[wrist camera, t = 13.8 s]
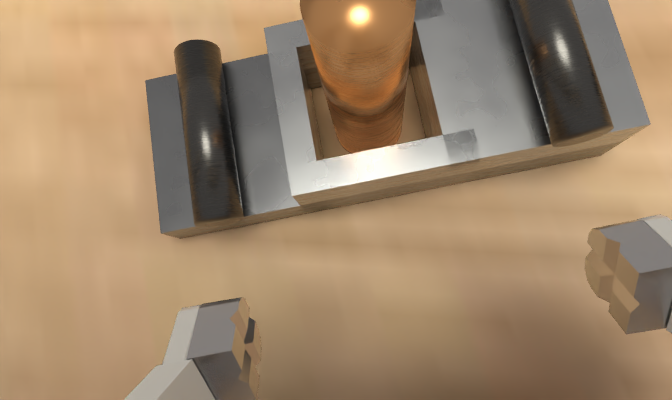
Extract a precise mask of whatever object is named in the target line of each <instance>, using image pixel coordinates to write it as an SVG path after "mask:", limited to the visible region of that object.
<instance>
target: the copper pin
mask: <svg viewBox="0 0 672 400" xmlns="http://www.w3.org/2000/svg"><path fill="white" fill-rule="evenodd" d="M415 7H416V0H300V9H301V14H302V18H303V21H304V25H305V28H306V32H307V35H308V38H309V42H310V45H311V49H312V52H313V56H314V59H315V63H316V66H317V69H318V73H319V76H320V80H321V83H322V87H323V90H324V93H325V97H326V100H327V104H328V107H329V111H330V114H331V118H332V121H333V124H334V128H335V131H336V135H337V138H338V140H339V142H340V144H341V145H342V146H343V147H344V148H345V149H346V150H347V151H348V152H350V153H351V154H353V153H358V152H362V151H367V150H372V149H377V148H382V147H387V146H392V145H395V144H396V142H397V141H398V139H399V136H400V133H401V127H402V118H403V110H404V101H405V93H406V84H407V76H408V67H409V58H410V50H411V41H412V33H413V24H414V16H415Z"/></svg>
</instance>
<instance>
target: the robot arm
mask: <svg viewBox="0 0 672 400" xmlns="http://www.w3.org/2000/svg"><path fill="white" fill-rule="evenodd" d="M588 244H589V245H590V246H591V248H592V249H593V250H592V251H591V252H590V253H589V254H588V255H587V256H586V259H585V272H586V276H587V280H588V282H589V284H590V286H591V288H592V290H593V291H594V293H595V294H596V295H597V297H599V298H601V299H603V300H605V301H607V302H609V303H610V306H609V313H610V314H611V315H612V317H613V318H614V319H615V321H616V322H617V323H618V324H619V326H620V327H621V328H622V330H623V331H624V332H625V334H631V333H637V332H644V331H650V330H657V329H663V328H667V329H666V330H667V331H669V332H671V333H672V220H670V219H669V218H668V217H666V216H664V215H661V214H660V215H655V216H650V217H646V218H641V219H637V220H633V221H628V222H623V223H618V224H613V225H608V226H603V227H598V228H593V229H592V230H591V231H590V233H589V236H588ZM249 310H250V308H249V306H248V304H247V301H246V299H245V298H242V297H241V298H235V299H229V300H223V301H217V302H212V303H206V304H202V305H197V306H191V307H185V308H182V309H181V310H180V311H179V312H178V314H177V317H176V321H175V324H174V327H173V331H172V334H171V337H170V340H169V344H168V347H167V350H166V354H165V357H164V360H163V363H162V365H158V366H156V367H155V368H154V369H153V370H152V371H151V372H150V373H149V374H148V375H147V376H146V377H145V378H144V379H143V380H142V381H141V382H140V383H139V384H138V385H137V386H136V387H135V388H134V390H133V391H132V392H131V393H130V394H129V395H128V396H127V397H126V398H125V399H124V400H257V398H258V388H259V377H260V376H259V374H258V372H257V369H256V366H257V364H258V363H259V362H260V360H261V352H262V347H261V337H260V333H259V329H258V326H257V324H256V321H254V320H253V319H251V318H249Z"/></svg>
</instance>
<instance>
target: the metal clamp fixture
mask: <svg viewBox="0 0 672 400" xmlns="http://www.w3.org/2000/svg"><path fill="white" fill-rule="evenodd" d="M264 31H265V38H266V44H267V50H268V54H264V55H259V56H255V57H250V58H246V59H241V60H236V61H232V62H227V63H223V64H222V59H221V52H220V49H219V47H218V46H217V45H216V44H214V43H212V42H210V41H206V40H189V41H185V42H183V43H181V44H179V45H178V46H177V47H176V48H175V50H174V56H175V64H176V73H177V74H173V75H168V76H164V77H159V78H155V79H150V80H146V81H145V82H146V92H147V102H148V112H149V122H150V131H151V141H152V151H153V161H154V171H155V181H156V191H157V201H158V210H159V220H160V230H161V234H165V235H169V236H173V237H177V238H185V237H190V236H195V235H200V234H205V233H210V232H216V231H221V230H226V229H231V228H236V227H241V226H246V225H251V224H256V223H261V222H266V221H271V220H276V219H281V218H286V217H291V216H296V215H302V214H307V213H312V212H317V211H322V210H327V209H332V208H337V207H342V206H347V205H352V204H357V203H362V202H367V201H372V200H377V199H382V198H388V197H393V196H398V195H403V194H408V193H413V192H418V191H423V190H428V189H433V188H438V187H443V186H448V185H453V184H458V183H463V182H468V181H474V180H479V179H484V178H489V177H494V176H499V175H504V174H509V173H514V172H519V171H524V170H529V169H534V168H539V167H544V166H549V165H554V164H560V163H565V162H570V161H575V160H580V159H585V158H590V157H595V156H600V155H602V154H604V153H605V152H607V151H609V150H610V149H612V148H613V147H615V146H617V145H618V144H620V143H621V142H623V141H625V140H626V139H628V138H629V137H631V136H633V135H634V134H636V133H637V132H639V131H641V130H642V129H644V128H645V127H647V126H649V125H650V121H649V118H648V115H647V112H646V109H645V106H644V104H643V101H642V98H641V95H640V92H639V89H638V86H637V83H636V80H635V78H634V75H633V72H632V69H631V66H630V63H629V60H628V57H627V54H626V52H625V49H624V46H623V43H622V40H621V37H620V34H619V31H618V28H617V26H616V23H615V20H614V17H613V14H612V11H611V8H610V5H609V2H608V0H416V7H415V16H414V24H413V33H412V41H411V50H410V58H409V67H408V68H410V72H411V76H412V80H413V84H414V89H415V93H416V97H417V101H418V106H419V110H420V114H421V119H422V123H423V127H424V131H425V136H426V139H421V140H416V141H411V142H406V143H402V144H397V145H392V146H387V147H382V148H377V149H372V150H367V151H362V152H358V153H353V154H348V155H343V156H338V157H333V158H328V159H323V153H322V148H321V142H320V137H319V131H318V126H317V120H316V115H315V109H314V104H313V98H312V93H311V89H312V88H316V87H321V86H322V83H321V80H320V76H319V73H318V69H317V66H316V63H315V59H314V56H313V52H312V49H311V45H310V42H309V38H308V35H307V32H306V28H305V25H304V21H303V19H302V20H298V21H294V22H289V23H285V24H280V25H276V26H271V27H267V28H264Z"/></svg>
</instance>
